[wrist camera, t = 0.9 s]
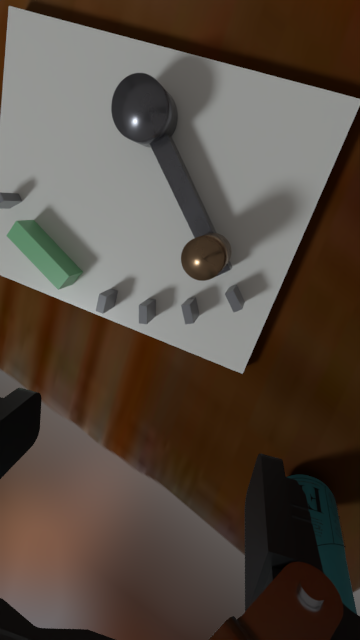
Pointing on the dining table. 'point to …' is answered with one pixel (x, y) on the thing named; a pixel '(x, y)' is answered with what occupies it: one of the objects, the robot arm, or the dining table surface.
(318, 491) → the beverage bottle
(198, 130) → the dial board
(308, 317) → the dining table surface
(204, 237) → the lever
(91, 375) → the dining table surface
